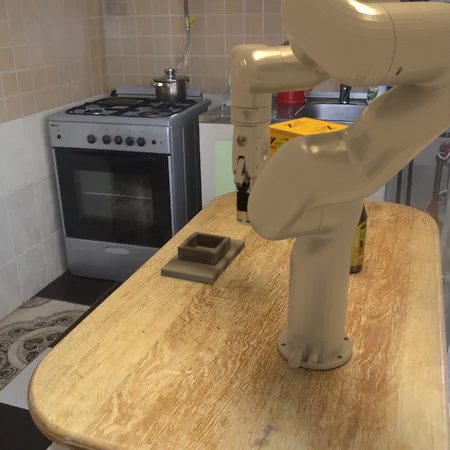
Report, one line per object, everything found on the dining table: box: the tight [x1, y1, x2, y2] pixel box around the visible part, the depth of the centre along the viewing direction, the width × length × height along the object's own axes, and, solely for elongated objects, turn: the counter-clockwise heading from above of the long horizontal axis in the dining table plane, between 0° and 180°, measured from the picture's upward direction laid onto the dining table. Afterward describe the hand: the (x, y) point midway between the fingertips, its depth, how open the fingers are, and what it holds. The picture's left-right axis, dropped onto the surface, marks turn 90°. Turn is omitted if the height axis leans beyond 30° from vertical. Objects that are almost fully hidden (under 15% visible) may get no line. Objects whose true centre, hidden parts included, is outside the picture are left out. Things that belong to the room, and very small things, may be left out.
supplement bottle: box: [236, 173, 257, 227], centre depth 108 cm, size 5×5×10 cm
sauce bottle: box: [350, 202, 369, 274], centre depth 118 cm, size 7×6×20 cm
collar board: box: [160, 231, 246, 285], centre depth 124 cm, size 20×12×4 cm, turn 158°
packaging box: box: [269, 117, 349, 157], centre depth 143 cm, size 16×16×25 cm
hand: (250, 204), depth 109 cm, fingers closed on supplement bottle, 5 cm apart
